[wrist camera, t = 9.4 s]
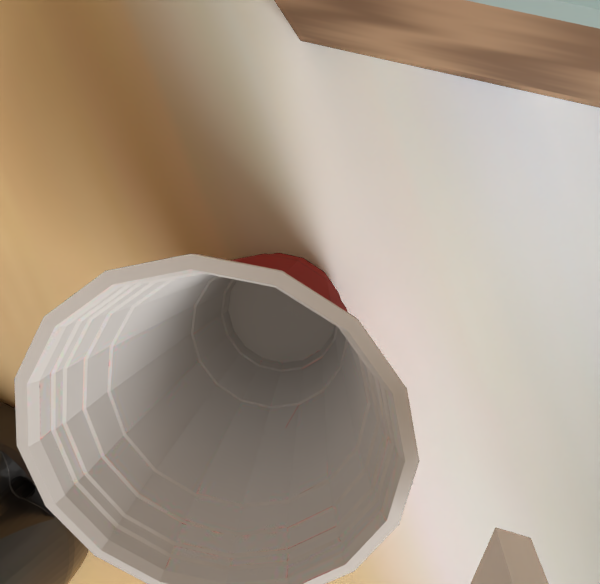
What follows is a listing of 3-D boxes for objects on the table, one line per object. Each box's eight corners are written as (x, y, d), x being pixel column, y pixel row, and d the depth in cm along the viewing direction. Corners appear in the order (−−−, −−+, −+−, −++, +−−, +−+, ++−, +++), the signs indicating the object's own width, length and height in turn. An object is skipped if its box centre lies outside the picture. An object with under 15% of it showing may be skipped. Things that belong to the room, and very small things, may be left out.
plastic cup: (288, 449, 26) (222, 683, 14) (139, 309, 25) (-60, 442, 13) (446, 318, 23) (520, 487, 11) (281, 151, 22) (179, 151, 10)
